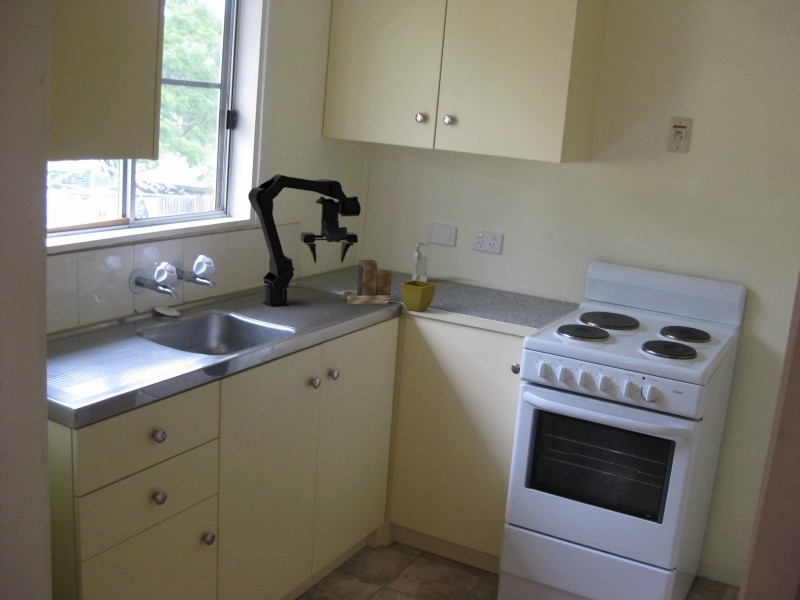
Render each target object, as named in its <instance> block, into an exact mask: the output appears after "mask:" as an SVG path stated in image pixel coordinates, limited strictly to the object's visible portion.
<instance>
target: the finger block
mask: <svg viewBox="0 0 800 600" xmlns="http://www.w3.org/2000/svg"><path fill="white" fill-rule="evenodd" d="M378 263H379V262H377V261H376V260H374V259H359V260H358V265H357V288H356V289H357V290H356V291H357V296H376V286H377V271H378Z"/></svg>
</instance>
